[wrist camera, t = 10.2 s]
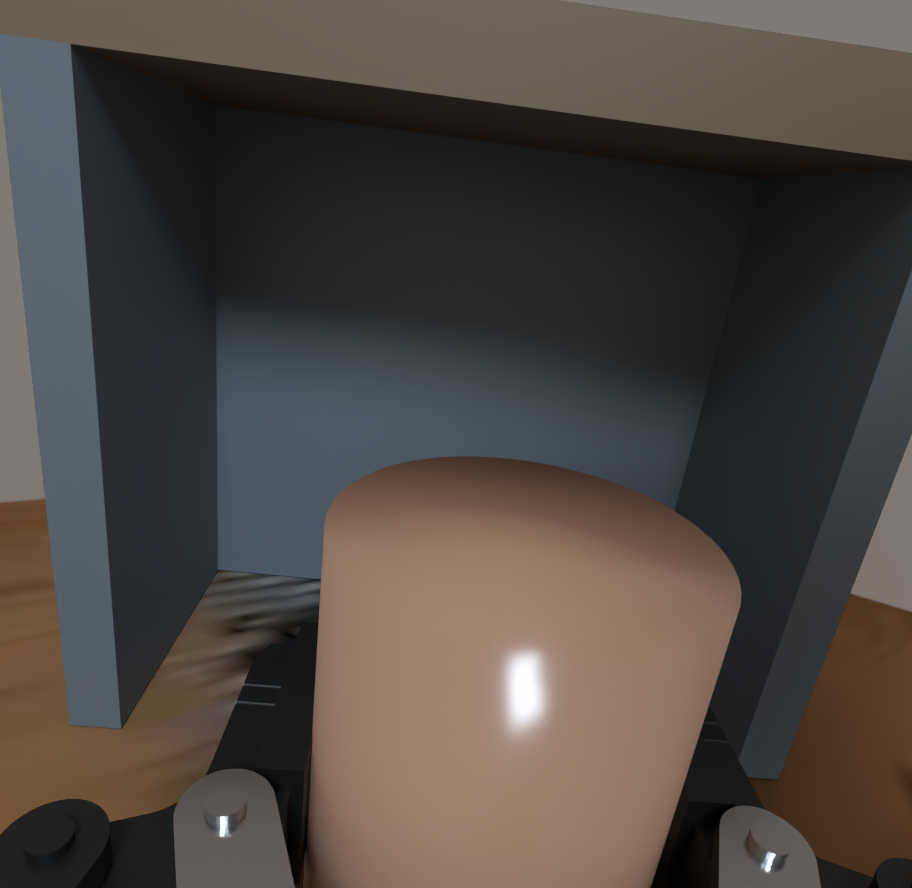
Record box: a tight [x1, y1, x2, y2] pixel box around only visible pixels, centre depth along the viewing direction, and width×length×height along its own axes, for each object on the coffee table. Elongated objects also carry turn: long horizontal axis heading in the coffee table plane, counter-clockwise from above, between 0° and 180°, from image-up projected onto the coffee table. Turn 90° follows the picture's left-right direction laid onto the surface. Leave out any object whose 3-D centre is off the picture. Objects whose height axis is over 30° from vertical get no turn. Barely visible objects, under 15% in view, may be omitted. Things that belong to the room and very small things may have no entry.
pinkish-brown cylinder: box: [303, 456, 742, 888], centre depth 11 cm, size 6×6×11 cm
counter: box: [0, 0, 912, 780], centre depth 21 cm, size 22×10×20 cm, turn 91°
